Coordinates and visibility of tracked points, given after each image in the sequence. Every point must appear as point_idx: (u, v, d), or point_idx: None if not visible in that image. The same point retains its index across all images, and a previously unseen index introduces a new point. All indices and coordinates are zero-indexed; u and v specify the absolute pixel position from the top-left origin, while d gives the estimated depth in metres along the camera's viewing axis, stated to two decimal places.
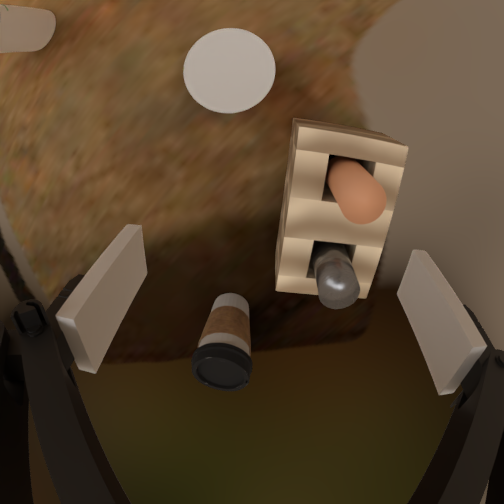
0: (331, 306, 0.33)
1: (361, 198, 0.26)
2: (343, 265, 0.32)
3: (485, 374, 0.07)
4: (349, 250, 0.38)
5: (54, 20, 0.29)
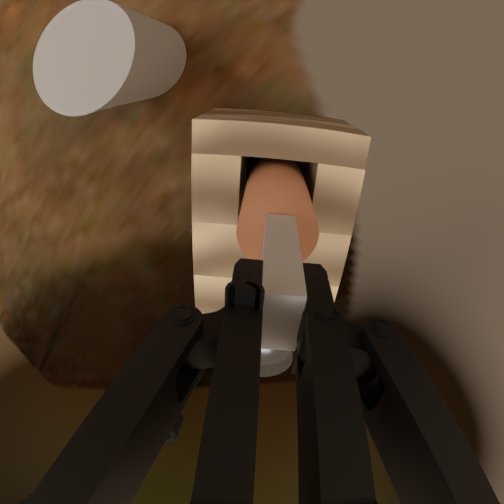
0: None
1: None
2: None
3: (309, 338, 0.09)
4: None
5: None
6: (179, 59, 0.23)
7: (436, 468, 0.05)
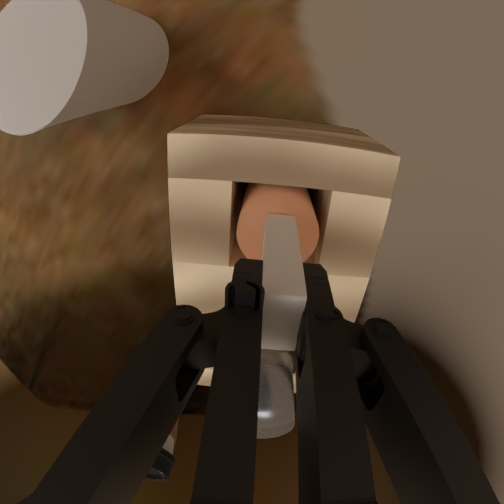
0: None
1: None
2: (266, 382, 0.18)
3: (309, 338, 0.09)
4: None
5: None
6: (158, 56, 0.18)
7: (436, 468, 0.05)
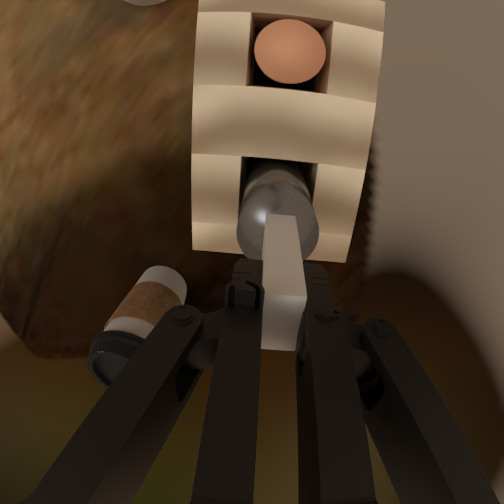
0: None
1: (285, 46, 0.16)
2: (284, 184, 0.17)
3: (309, 338, 0.09)
4: (310, 180, 0.23)
5: None
6: None
7: (436, 468, 0.05)
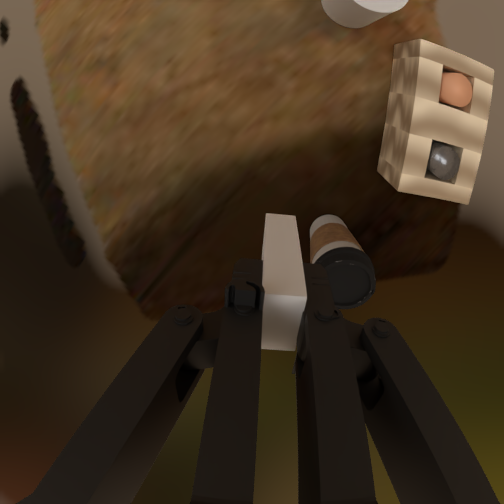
0: (440, 176, 0.34)
1: (457, 87, 0.28)
2: None
3: (309, 338, 0.09)
4: None
5: None
6: None
7: (436, 468, 0.05)
